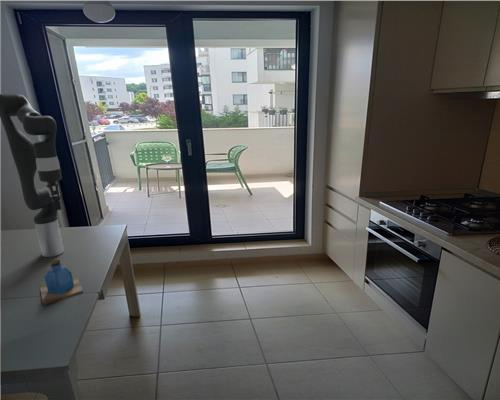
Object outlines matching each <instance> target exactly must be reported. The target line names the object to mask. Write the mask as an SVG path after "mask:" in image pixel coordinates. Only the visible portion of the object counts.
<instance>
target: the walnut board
mask: <svg viewBox="0 0 500 400" xmlns="http://www.w3.org/2000/svg"><path fill="white" fill-rule="evenodd" d="M72 279H73V284H74V286H73V287H72V288H70V289H68V290H67V291H65V292H64V293H62V294H60V295H59V294H55V293H51V292H48V289H47V285H43V286H41V287H39V289H40V295H41V300H42V305H43V306H45V305H49V304H52V303H55V302H58V301H61V300H64V299H66V298H67V299H68V298H70V297H74V296H76V295H79V294H82V293H84V290H83V287H82V284H81V282H80V280H79V278H78V276H75V277H72Z"/></svg>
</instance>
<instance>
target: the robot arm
mask: <svg viewBox="0 0 500 400" xmlns="http://www.w3.org/2000/svg"><path fill="white" fill-rule="evenodd" d="M11 117H17V119H18V121H20V123H21V124H22V127H23V130H24V132H25V133H26V134H27V135H29V136H35V137H36V136H45V138H44V139H43V140H39V141H36V142H33V141H32V140H31V139H30V138H29V137H28V136H26V135H25V134H24V133H23V132H22V131H21V130H20V129H19V128H18V127H17V126H16V125H15V123H14V122H13V120H12V118H11ZM0 121H1V123H2V126H3V128H4V131H5V134H6V138H7V142H8V144H9V148H10V149H9V150H10V152H11V155H12V158H13V161H14V165H15V167H16V170H17V173H18V174H17V175H18V177H19V181H20V185H21V191H22V195H23V196H22V197H23V200H24V203H25V205H26V207H27V208H28V209H29V210H31V211H37V210H40V211H39V212H38V213H37V214H35V215H34V217H33V222H34V226H35V230H36V235H37V239H38V243H39V246H40V251H41V255H42V256H41V257H43V258H53V257H56V256H59V255H61V254H63V253H64V252H65V248H64V243H63V238H62V235H61V234H62V233H61V228H60V225H59V221H58V211H60V210H62V206H61V205H62V204H61V197H60V195H61V191H60V185H59V184H58V183H57V181H60V180H62V179H63V176H62V169H61V166H60V160H59V159H58V158H59V157H58V154H57V149H56V138H57V137H56V136H57V128H58V126H57V125H58V124H57V122H56V120H55V119H54V118H53V117H52V116H50V115H41V113H39V112H38V111H36V110H35V109H34V107H33V106H32V105H31V103H30V102H29V100H28V99H27V98H26V97H25V96H24V95H23V94H19V93H0ZM36 172H37V174H38V180H39V182H42V183H47V184H45V186H46V187H45V186H44V187H39V188H36V186H35V185H36V184H35V176H36Z"/></svg>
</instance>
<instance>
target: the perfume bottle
mask: <svg viewBox="0 0 500 400" xmlns="http://www.w3.org/2000/svg"><path fill="white" fill-rule="evenodd" d="M72 278H73V275H72V272H71V271H70V270H69V269H68V268H66V267H64V266H62V262H61V260H60V259H54V260H52V261H50V270H48V271H47V272H46V274H45V277H44V279H45V280H44V281H45V284H46V285H45V286H47V289H48V292H51V293H55V294H59V295H60V294H62V293H64V292H65V291H67V290H68V289H70V288H72V287H73V286H74V284H73V279H72Z"/></svg>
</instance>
